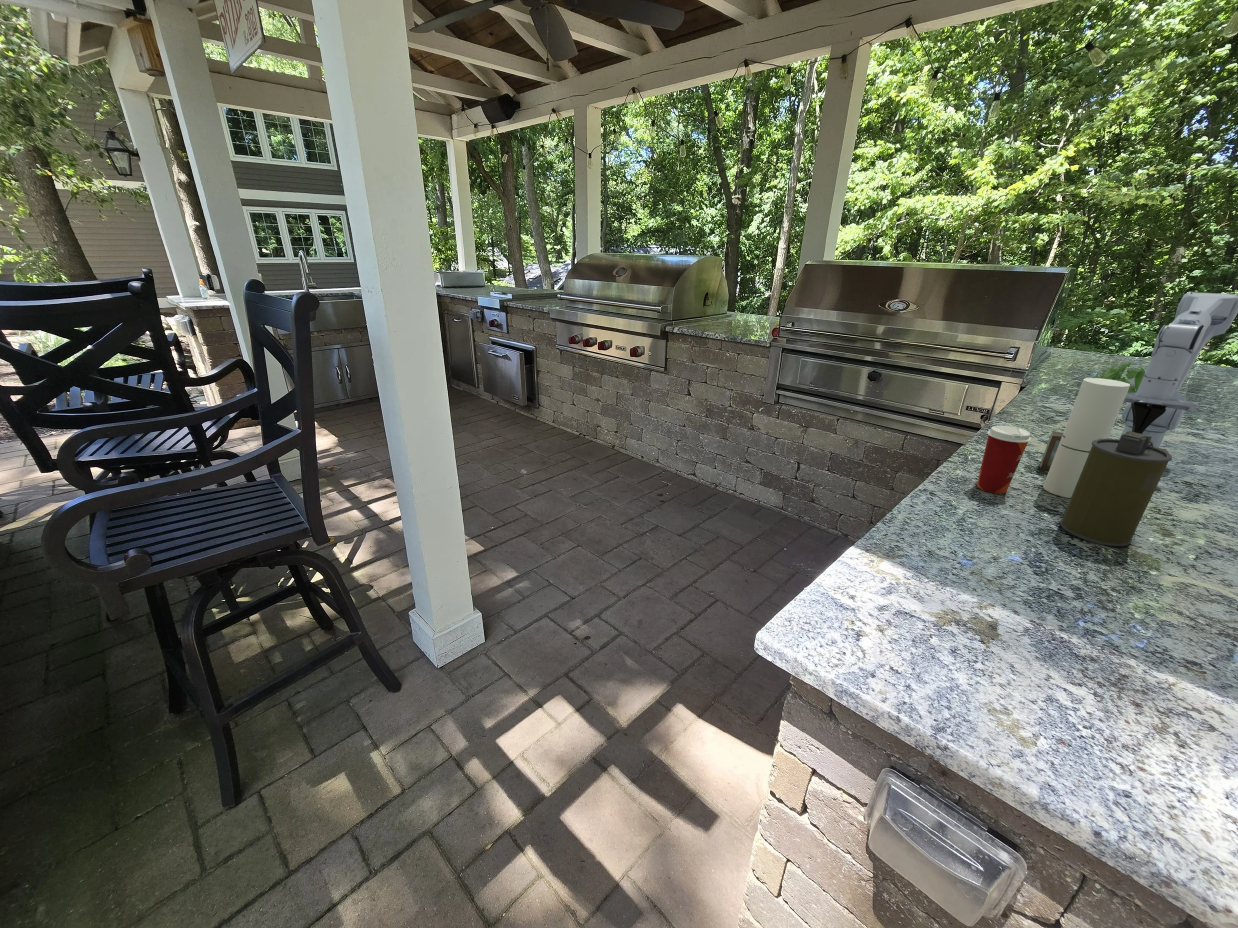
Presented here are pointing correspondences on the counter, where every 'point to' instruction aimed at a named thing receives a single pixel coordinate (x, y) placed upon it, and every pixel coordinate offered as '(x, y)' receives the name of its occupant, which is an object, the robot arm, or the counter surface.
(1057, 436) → the window frame
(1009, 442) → the paper cup
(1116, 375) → the plant cuttings
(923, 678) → the counter surface
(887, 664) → the counter surface
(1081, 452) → the cylindrical container
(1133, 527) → the canister
